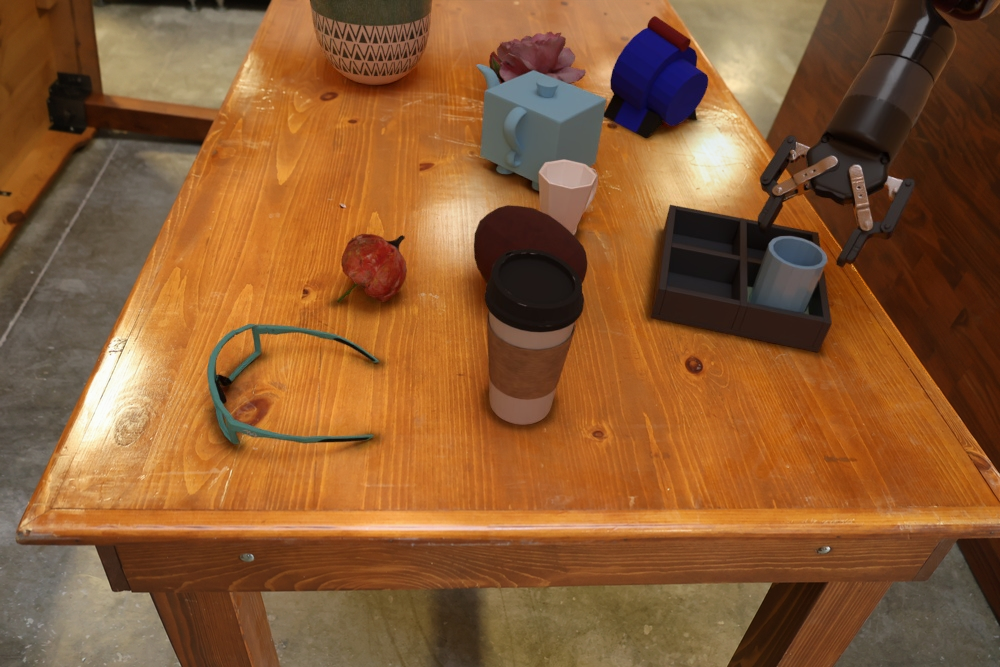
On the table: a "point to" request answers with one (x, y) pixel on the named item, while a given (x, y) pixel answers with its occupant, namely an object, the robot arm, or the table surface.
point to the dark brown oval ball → (525, 238)
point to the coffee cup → (529, 331)
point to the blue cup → (788, 274)
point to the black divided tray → (729, 280)
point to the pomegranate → (374, 265)
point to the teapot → (538, 123)
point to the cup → (566, 191)
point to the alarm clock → (656, 80)
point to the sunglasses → (219, 380)
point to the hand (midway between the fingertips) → (800, 247)
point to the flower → (535, 58)
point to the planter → (372, 36)
